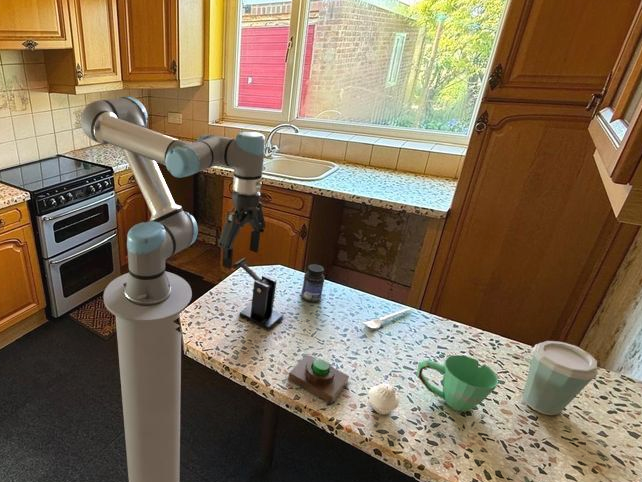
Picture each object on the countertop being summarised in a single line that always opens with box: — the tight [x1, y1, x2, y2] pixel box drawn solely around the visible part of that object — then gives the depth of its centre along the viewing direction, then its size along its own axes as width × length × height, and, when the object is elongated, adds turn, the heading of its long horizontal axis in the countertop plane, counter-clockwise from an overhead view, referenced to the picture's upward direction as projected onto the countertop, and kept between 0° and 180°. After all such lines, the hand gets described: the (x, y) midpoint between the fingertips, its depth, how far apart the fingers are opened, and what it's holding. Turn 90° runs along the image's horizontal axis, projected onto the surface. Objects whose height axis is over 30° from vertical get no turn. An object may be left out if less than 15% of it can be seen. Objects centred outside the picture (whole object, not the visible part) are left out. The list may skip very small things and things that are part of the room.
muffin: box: [368, 382, 400, 415], centre depth 89 cm, size 6×6×7 cm
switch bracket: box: [239, 274, 284, 331], centre depth 117 cm, size 10×8×13 cm
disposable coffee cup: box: [522, 340, 599, 416], centre depth 88 cm, size 11×11×15 cm
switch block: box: [288, 353, 350, 405], centre depth 97 cm, size 11×9×4 cm
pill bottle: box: [300, 263, 325, 303], centre depth 127 cm, size 6×6×11 cm
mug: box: [416, 354, 500, 413], centre depth 90 cm, size 15×10×10 cm
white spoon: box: [361, 308, 411, 329], centre depth 119 cm, size 3×20×2 cm, turn 116°
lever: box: [233, 257, 272, 289], centre depth 117 cm, size 12×5×2 cm, turn 47°
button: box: [312, 358, 329, 375], centre depth 96 cm, size 4×4×2 cm
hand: (240, 259), depth 118 cm, fingers open, 13 cm apart
